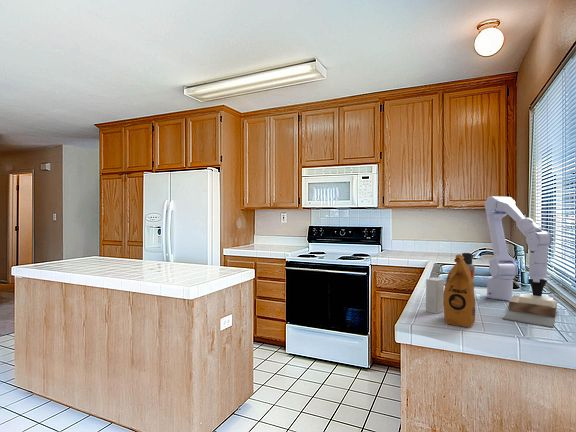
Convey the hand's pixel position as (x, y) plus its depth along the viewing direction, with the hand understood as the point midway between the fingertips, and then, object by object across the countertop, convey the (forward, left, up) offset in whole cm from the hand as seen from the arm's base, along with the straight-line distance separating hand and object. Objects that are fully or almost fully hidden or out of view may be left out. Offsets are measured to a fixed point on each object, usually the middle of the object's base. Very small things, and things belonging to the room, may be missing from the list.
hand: (537, 298), depth 139 cm
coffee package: (-19, -38, -4) cm, 43 cm away
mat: (-1, -17, -4) cm, 18 cm away
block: (0, -5, -1) cm, 5 cm away
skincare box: (-29, -30, -4) cm, 42 cm away
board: (-1, -3, -4) cm, 5 cm away
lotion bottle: (-24, -4, -4) cm, 25 cm away
